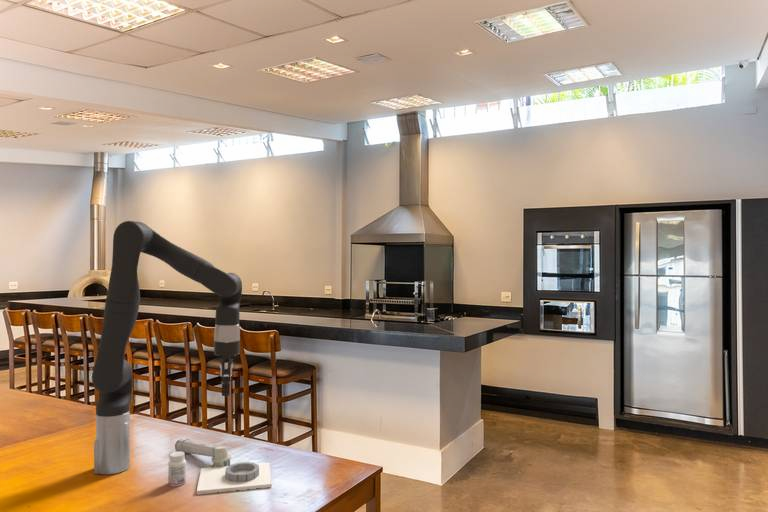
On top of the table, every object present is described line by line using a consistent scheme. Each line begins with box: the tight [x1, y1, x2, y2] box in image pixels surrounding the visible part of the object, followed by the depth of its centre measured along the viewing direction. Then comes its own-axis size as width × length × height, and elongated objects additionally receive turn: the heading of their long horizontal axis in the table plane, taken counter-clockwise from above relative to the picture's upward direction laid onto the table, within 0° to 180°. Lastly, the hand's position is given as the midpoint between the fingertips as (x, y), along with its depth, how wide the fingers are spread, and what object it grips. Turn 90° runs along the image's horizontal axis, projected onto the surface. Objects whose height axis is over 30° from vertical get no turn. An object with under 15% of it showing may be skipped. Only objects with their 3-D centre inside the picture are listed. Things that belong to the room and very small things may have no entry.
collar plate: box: [196, 461, 273, 495], centre depth 164 cm, size 20×16×3 cm
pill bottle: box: [167, 451, 187, 487], centre depth 161 cm, size 5×5×8 cm
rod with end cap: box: [174, 438, 232, 467], centre depth 180 cm, size 5×7×25 cm
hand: (225, 391), depth 172 cm, fingers open, 8 cm apart
